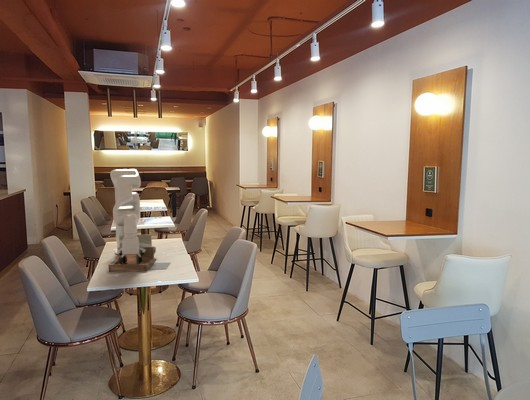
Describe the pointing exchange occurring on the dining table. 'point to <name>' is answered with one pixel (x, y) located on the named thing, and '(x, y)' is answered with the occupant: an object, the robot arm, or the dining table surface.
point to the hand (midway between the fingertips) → (132, 263)
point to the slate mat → (160, 266)
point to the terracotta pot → (131, 259)
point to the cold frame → (146, 257)
